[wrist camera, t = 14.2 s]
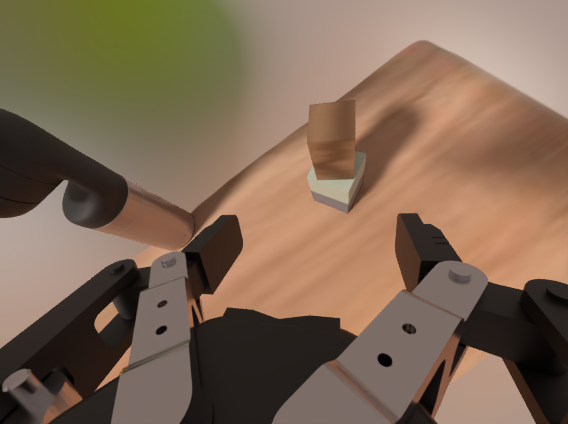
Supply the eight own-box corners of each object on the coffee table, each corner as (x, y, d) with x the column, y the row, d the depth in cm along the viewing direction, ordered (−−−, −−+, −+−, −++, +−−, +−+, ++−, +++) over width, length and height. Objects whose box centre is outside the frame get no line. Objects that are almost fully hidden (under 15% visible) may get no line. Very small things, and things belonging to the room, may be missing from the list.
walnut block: (317, 180, 38) (307, 141, 28) (318, 150, 39) (309, 104, 30) (353, 179, 36) (355, 138, 27) (353, 148, 38) (355, 100, 29)
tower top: (311, 190, 43) (306, 177, 38) (327, 158, 44) (324, 141, 40) (348, 204, 40) (348, 192, 36) (364, 169, 42) (366, 153, 37)
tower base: (314, 200, 47) (310, 189, 43) (329, 170, 49) (327, 157, 44) (347, 213, 45) (347, 203, 40) (362, 182, 46) (364, 169, 42)
